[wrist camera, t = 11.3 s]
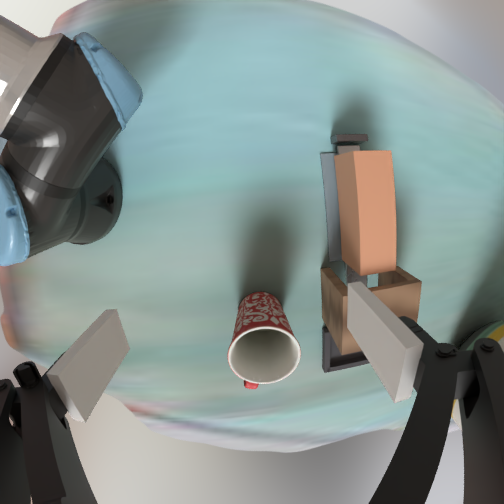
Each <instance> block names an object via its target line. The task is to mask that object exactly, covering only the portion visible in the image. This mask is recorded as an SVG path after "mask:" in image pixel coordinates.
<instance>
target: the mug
mask: <svg viewBox="0 0 504 504" xmlns="http://www.w3.org/2000/svg"><path fill="white" fill-rule="evenodd" d="M300 357H301V349H300V345H299V343H298V341H297V339H296V338H295V337H294V335H293V332H292V330H291V327H290V325H289V323H288V320H287V318H286V315H285V313H284V311H283V309H282V306H281V304H280V302H279V301H278V299H277V298H276V297H274V296H273V295H271V294H269V293H266V292H255V293H252V294H249V295H248V296H247V297H245V298H244V299H243V300H242V302H241V303H240V306H239V309H238V314H237V319H236V324H235V329H234V333H233V338H232V343H231V345H230V347H229V350H228V362H229V365H230V367H231V369H232V371H233V372H234V373H235V374H236V375H237V376H239V377H240V378H242V379H244V386H245V387H246V388H249V389H256V388H257V387H258V385H259V384H268V383H274V382H277V381H280V380H282V379H284V378H286V377H287V376H289V375H290V374H291V373H292V372H293V371H294V370H295V368H296V367H297V366H298V364H299V361H300Z"/></svg>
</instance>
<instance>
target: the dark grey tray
mask: <svg viewBox="0 0 504 504" xmlns="http://www.w3.org/2000/svg"><path fill="white" fill-rule="evenodd" d="M322 334H323V359H322V367H323V370H324V373H326V372H331V371H336V370H341V369H346V368H351V367H355V366H359V365H364V364H368V363H370V362H369V361H368V359H367V358H366V356H365V354H364V353H363V351H359V352H355V353H350V354H345V355H341V353H340V351H339V349H338V347H337V345H336V343H335V341H334V340H333V338H332V336H331V334H330V332H329V330H328V328H327V327H325V328H322Z"/></svg>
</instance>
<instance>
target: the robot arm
mask: <svg viewBox="0 0 504 504" xmlns="http://www.w3.org/2000/svg"><path fill="white" fill-rule="evenodd" d="M73 39H74V40H71V39H69V38H68V37H66V36H65V35H63V34H62V33H59V34H55V35H51V36H48V37H44V38H39V37H37V36H35V35H33V34H32V33H30V32H29V31H27V30H25V29H23V28H22V27H20V26H19V25H17V24H15V23H13V22H12V21H10V20H8V19H6V18H5V17H3V16H1V15H0V137H2V138H4V139H7V143H6V145H5V147H4V149H3V151H2V153H1V156H0V266H8V265H11V264H15V263H18V262H19V263H21V262H23V261H25V260H26V259H27V258H29V257H31V256H33V255H36V254H38V253H40V252H42V251H45V250H47V249H49V248H52V247H54V246H57V245H59V244H61V243H64V242H70V243H73V244H79V245H84V244H90V243H93V242H95V241H97V240H99V239H101V238H103V237H104V236H106V235H107V234H108V233H109V232H110V231H111V230H112V228H113V227H114V225H115V224H116V222H117V220H118V217H119V214H120V211H121V205H122V189H121V184H120V180H119V177H118V175H117V173H116V171H115V170H114V168H113V167H112V165H111V164H110V163H109V162H108V161H106V160H105V159H104V158H102V156H103V155H104V153H105V152H106V150H107V149H108V148H109V146H110V145H111V144H112V142H113V141H114V139H115V138H116V137H117V136H118V134H119V133H120V132H121V130H122V131H123V130H124V129H125V127H126V123H127V122H128V120H129V119H130V118H131V116H132V115H133V114H134V112H135V111H136V110H137V109H138V107H139V106H140V104H141V102H142V98H143V94H142V90H141V87H140V86H139V84H138V83H137V81H136V80H135V79H134V78H133V76H132V75H131V74H130V73H129V72H128V71H127V69H126V68H125V67H124V66H123V65H122V64H121V63H120V62H119V61H118V60H117V59H116V58H115V57H114V56H113V55H112V54H111V53H110V52H109V51H108V50H107V49H106V48H104V47H103V46H102V45H101V44H100V43H99V42H98V41H97V40H96V39H95V38H94V37H92V36H91V35H90V34H88V33H86V32H82V33H80V34H78V35H76V36H75V37H74V38H73ZM347 328H348V329H349V331H350V332H351V334H352V336H353V337H354V339H355V340H356V342H357V343H358V345H359V346H360V348H361V350H362V351H363V353H364V354H365V356H366V358H367V359H368V361H369V362H370V364H371V366H372V367H373V369H374V370H375V372H376V374H377V375H378V377H379V379H380V380H381V382H382V383H383V385H384V387H385V388H386V390H387V392H388V393H389V395H390V397H391V398H392V400H393V402H394V403H396V402H399V401H402V400H405V399H408V398H410V397H411V393H412V390H413V387H414V389H415V390H416V392H417V396H416V399H415V402H414V405H413V408H412V411H411V414H410V417H409V419H408V422H407V425H406V427H405V430H404V432H403V435H402V437H401V440H400V442H399V444H398V447H397V449H396V451H395V454H394V456H393V458H392V460H391V462H390V464H389V466H388V469H387V471H386V472H385V474H384V477H383V478H382V480H381V482H380V484H379V486H378V488H377V490H376V491H375V493H374V495H373V497H372V499H371V500H370V502H369V504H425V502H426V499H427V497H428V494H429V491H430V489H431V486H432V483H433V481H434V478H435V474H436V472H437V469H438V466H439V462H440V459H441V456H442V452H443V448H444V445H445V441H446V437H447V433H448V428H449V424H450V419H451V414H452V409H453V403H454V400H456V399H458V402H459V409H460V417H461V425H462V436H463V448H464V449H463V450H464V502H463V503H464V504H504V352H503V350H502V348H501V346H500V344H499V343H498V342H497V341H495V340H494V339H492V338H480V339H478V340H476V341H475V343H474V346H473V350H467V351H459V350H458V349H457V348H456V347H455V346H453V345H451V344H447V343H437V342H436V341H435V340H434V339H433V338H432V337H431V336H430V335H429V334H428V333H427V332H426V331H425V330H423V329H422V328H421V327H420V326H419V325H418V324H417V323H416V322H415V321H414V320H413V319H410V318H408V317H406V316H401V317H397V316H396V315H395V314H394V313H393V312H392V311H391V310H390V309H389V308H388V307H387V306H386V305H385V304H384V303H383V302H382V301H381V300H380V299H378V298H377V297H376V296H375V295H374V294H373V293H372V292H371V291H370V290H369V289H368V288H367V287H366V286H365V285H364V284H363V283H362V282H361V281H360V282H354V283H348V315H347ZM129 350H130V347H129V345H128V342H127V339H126V336H125V333H124V330H123V327H122V324H121V321H120V318H119V315H118V312H117V309H109V310H105V311H104V312H103V313H102V314H101V315H100V316H99V317H98V318H97V319H96V321H95V322H94V323H93V324H92V325H91V326H90V327H89V328H88V329H87V330H86V331H85V332H84V333H83V334H82V335H81V336H80V337H79V338H78V339H77V340H76V341H75V342H74V344H73V345H72V346H71V347H70V348H69V349H68V350H67V351H66V352H64V353H63V354H62V355H61V356H60V357H59V358H58V360H56V362H55V363H54V365H52V366H51V367H50V368H49V369H48V371H47V372H46V373H45V374H44V375H43V376H42V377H41V375H40V373H39V371H38V369H37V367H36V365H35V363H33V362H30V361H29V362H24V363H22V364H20V365H18V366H17V367H16V368H15V369H14V371H13V374H14V376H15V378H16V379H17V381H18V383H19V385H20V386H21V387H16V388H15V387H14V385H13V383H12V382H11V380H9V379H3V380H0V504H31V498H30V497H32V502H33V504H98V503H97V501H96V499H95V497H94V494H93V492H92V490H91V487H90V485H89V483H88V480H87V478H86V475H85V473H84V470H83V467H82V465H81V462H80V459H79V456H78V453H77V450H76V447H75V444H74V441H73V438H72V434H71V431H70V427H69V423H68V421H67V419H66V417H65V414H66V413H67V411H68V412H69V414H70V416H71V417H72V419H73V420H76V421H80V422H86V421H87V419H88V417H89V416H90V414H91V412H92V410H93V409H94V407H95V405H96V404H97V402H98V400H99V398H100V397H101V395H102V393H103V392H104V390H105V388H106V387H107V385H108V383H109V382H110V380H111V379H112V377H113V375H114V374H115V372H116V370H117V369H118V367H119V366H120V364H121V362H122V361H123V359H124V357H125V356H126V354H127V353H128V351H129ZM9 417H10V418H11V420H12V421H13V426H12V425H11V423H10V421H9Z"/></svg>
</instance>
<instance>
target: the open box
mask: <svg viewBox="0 0 504 504" xmlns="http://www.w3.org/2000/svg"><path fill="white" fill-rule="evenodd" d="M421 284H422V281H420V280H418V279H417V278H415V277H414V276H412V275H411V274H409V273H408V272H406V271H404V270H403V269H401V268H400V267H398V266H396V270H394V271H388V272H382V273H379V274H378V287H372V288H368V289H369V290H370V291H371V292H372V293H373V294H374V295H375V296H376V297H377V298H378V299H380V300H381V301H382V302H383V303H384V304H385V305H386V306H387V307H388V308H389V309H390V310H391V311H392V312H393V313H394V314H395V315H396V316H397V317H401V316H406V317H408V318H410V319H413V320H414V321H415V322H416V323H417V318H418V311H419V303H420V294H421ZM321 290H322V318H323V320H324V322H325V324H326V326H327V328H328V330H329V332H330V334H331V336H332V338H333V340H334V341H335V343H336V345H337V347H338V349H339V351H340V353H341V355H345V354H350V353H355V352H359V351H362V350H361V348H360V346H359V345H358V343H357V342H356V340H355V339H354V337H353V336H352V334H351V332H350V331H349V329H348V328H347V315H348V287H347V286H346V285H345V284H344V283H343V282H342V281H341V280H340V278H339V277H338V276H337V275H336V274H335V273H334V272H333V271H332V270H331V269H330V268H322V269H321Z"/></svg>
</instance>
